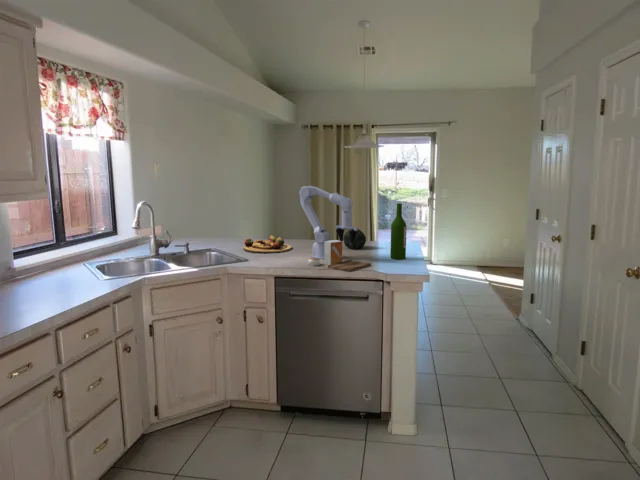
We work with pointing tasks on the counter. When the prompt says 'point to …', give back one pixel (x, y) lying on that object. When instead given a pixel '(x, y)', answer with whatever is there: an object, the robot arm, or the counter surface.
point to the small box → (333, 252)
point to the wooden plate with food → (266, 246)
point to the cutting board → (348, 265)
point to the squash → (355, 240)
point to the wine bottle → (398, 236)
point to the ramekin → (313, 261)
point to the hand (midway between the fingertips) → (346, 242)
